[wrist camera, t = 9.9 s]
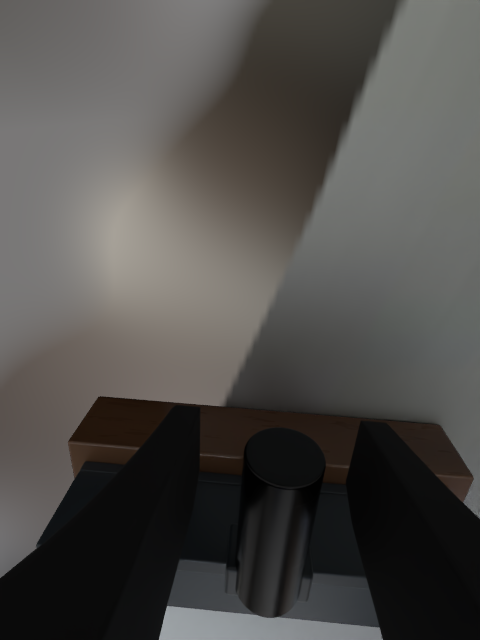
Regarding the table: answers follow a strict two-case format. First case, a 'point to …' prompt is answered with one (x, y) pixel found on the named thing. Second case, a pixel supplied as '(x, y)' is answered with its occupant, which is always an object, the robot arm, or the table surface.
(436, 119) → the table surface
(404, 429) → the stand
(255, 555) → the dark grey tray
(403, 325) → the table surface
